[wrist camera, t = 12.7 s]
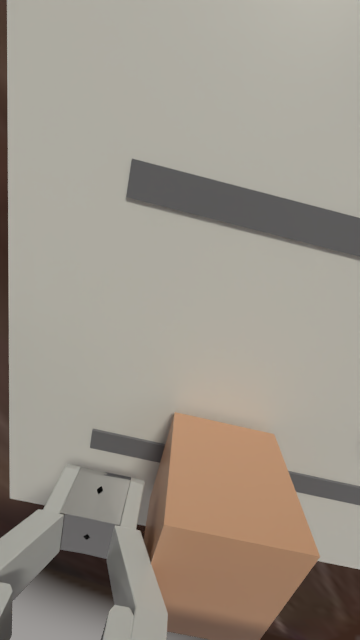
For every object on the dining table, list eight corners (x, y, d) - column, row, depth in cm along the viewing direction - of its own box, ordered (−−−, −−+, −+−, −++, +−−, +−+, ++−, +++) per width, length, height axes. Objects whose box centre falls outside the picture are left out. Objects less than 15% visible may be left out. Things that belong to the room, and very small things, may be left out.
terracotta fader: (149, 497, 12) (130, 624, 8) (174, 412, 10) (163, 524, 6) (235, 515, 12) (253, 647, 8) (274, 434, 10) (320, 556, 7)
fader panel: (32, 462, 15) (8, 500, 13) (52, -37, 7) (3, -126, 6) (370, 533, 16) (396, 578, 14) (683, 145, 8) (833, 123, 6)
